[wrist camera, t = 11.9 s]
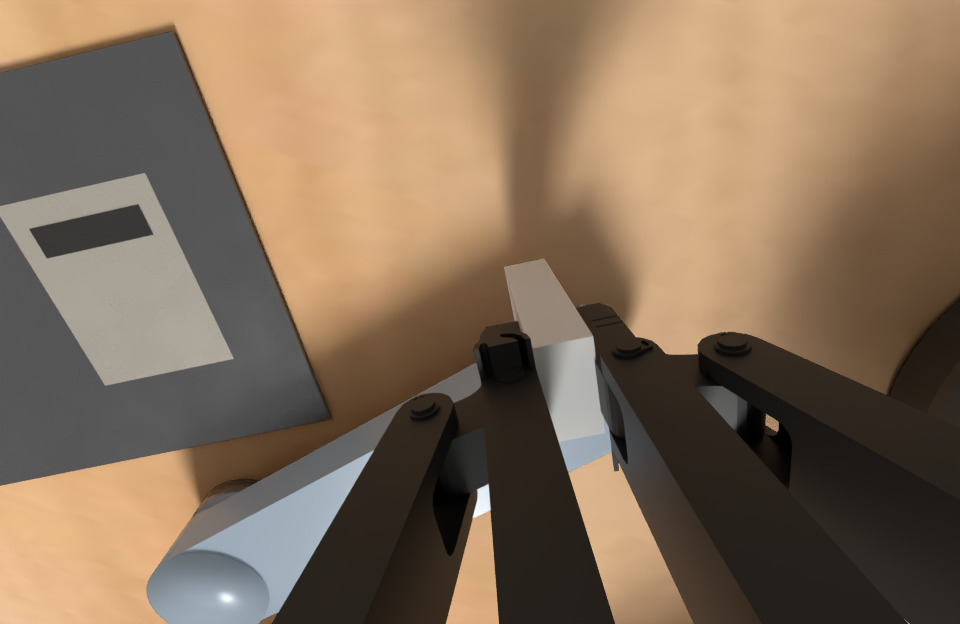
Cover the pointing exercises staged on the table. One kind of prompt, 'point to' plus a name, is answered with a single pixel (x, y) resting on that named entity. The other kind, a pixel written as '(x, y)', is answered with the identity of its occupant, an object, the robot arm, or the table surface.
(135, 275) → the label panel
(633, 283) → the table surface
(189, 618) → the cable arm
